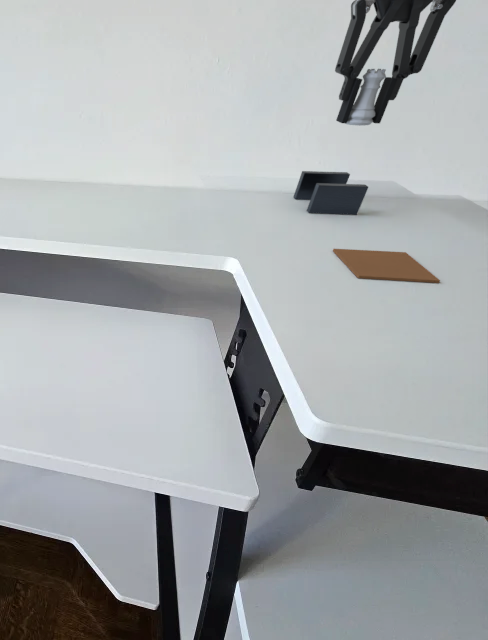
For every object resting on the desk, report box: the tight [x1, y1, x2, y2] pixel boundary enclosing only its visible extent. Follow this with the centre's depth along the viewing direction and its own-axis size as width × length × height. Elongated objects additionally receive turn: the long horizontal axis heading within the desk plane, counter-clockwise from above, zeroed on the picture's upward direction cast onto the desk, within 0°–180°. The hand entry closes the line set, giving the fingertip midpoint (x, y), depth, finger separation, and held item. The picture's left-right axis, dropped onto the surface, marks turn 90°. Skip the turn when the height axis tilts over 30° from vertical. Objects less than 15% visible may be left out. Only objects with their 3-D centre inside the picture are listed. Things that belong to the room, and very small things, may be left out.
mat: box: [332, 248, 441, 284], centre depth 72 cm, size 10×10×1 cm
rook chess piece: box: [344, 68, 387, 126], centre depth 83 cm, size 4×4×8 cm
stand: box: [293, 170, 369, 216], centre depth 93 cm, size 8×10×5 cm
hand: (357, 121), depth 85 cm, fingers closed on rook chess piece, 4 cm apart
